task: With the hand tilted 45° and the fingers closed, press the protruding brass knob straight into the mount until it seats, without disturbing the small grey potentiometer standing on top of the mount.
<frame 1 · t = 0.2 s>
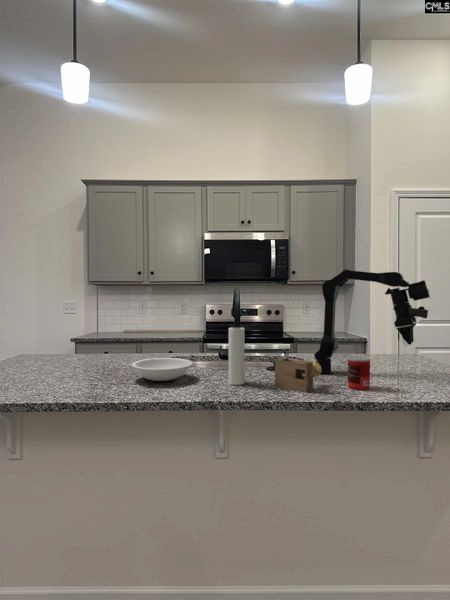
hand: (411, 343, 149), 15 cm above the countertop, tool pointing down, fingers open, 9 cm apart
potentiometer: (284, 360, 142), point 10 cm above the countertop, touching mount
soup bowl: (162, 380, 154), on the countertop
mount: (293, 388, 141), on the countertop
canned food: (358, 388, 142), on the countertop
paper towel roll: (237, 383, 148), on the countertop
knob: (310, 370, 143), point 6 cm above the countertop, slide at 5.0 cm
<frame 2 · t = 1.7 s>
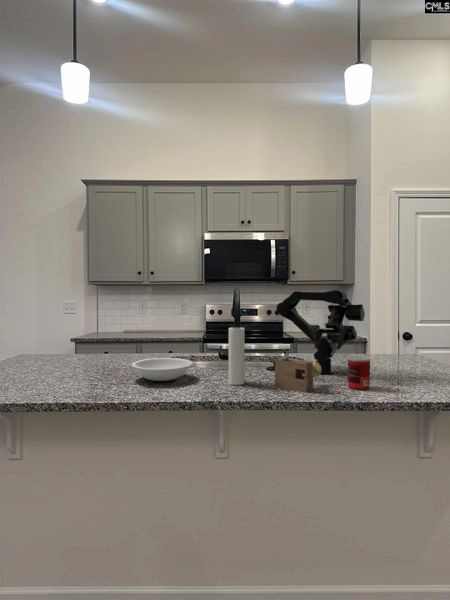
hand: (326, 348, 153), 13 cm above the countertop, tool tilted 45°, fingers open, 9 cm apart
nothing on the countertop moved.
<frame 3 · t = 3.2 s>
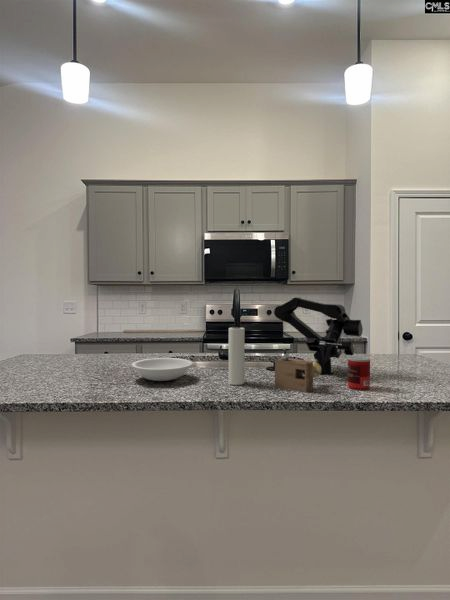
hand: (323, 363, 153), 7 cm above the countertop, tool tilted 45°, fingers closed
nothing on the countertop moved.
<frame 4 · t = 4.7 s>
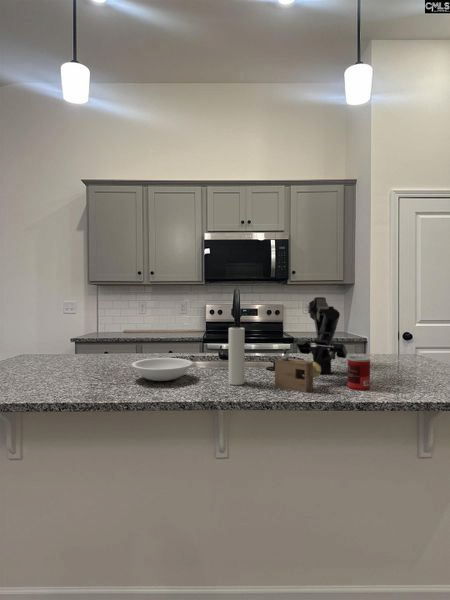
hand: (314, 366, 146), 7 cm above the countertop, tool tilted 45°, fingers closed
knob: (309, 370, 143), point 6 cm above the countertop, slide at 4.6 cm, touching gripper
everything else where it was.
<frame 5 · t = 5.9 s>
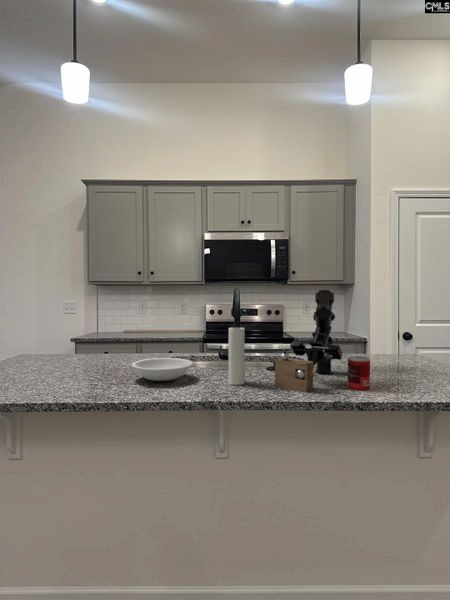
hand: (309, 368, 142), 7 cm above the countertop, tool tilted 45°, fingers closed, pressing on knob
knob: (304, 372, 139), point 6 cm above the countertop, slide at -0.2 cm, touching gripper
everything else where it was.
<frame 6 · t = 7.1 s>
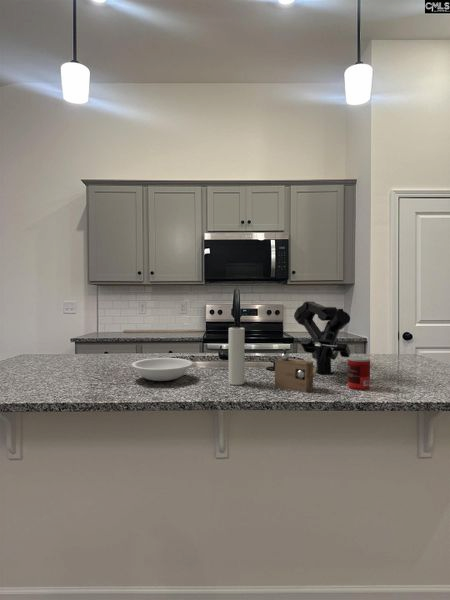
hand: (318, 365, 149), 7 cm above the countertop, tool tilted 45°, fingers closed
knob: (304, 372, 139), point 6 cm above the countertop, slide at 0.0 cm
everything else where it was.
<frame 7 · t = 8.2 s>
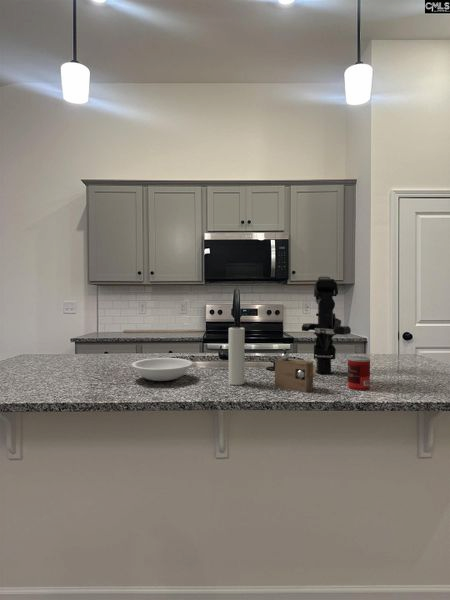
hand: (325, 350, 151), 12 cm above the countertop, tool pointing down, fingers closed
nothing on the countertop moved.
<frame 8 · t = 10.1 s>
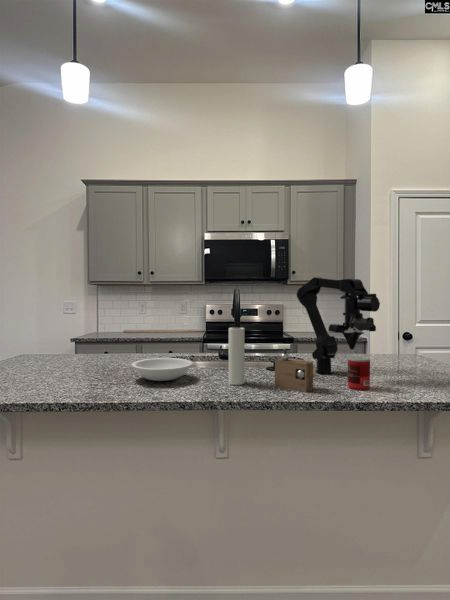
hand: (352, 349, 155), 12 cm above the countertop, tool pointing down, fingers closed
nothing on the countertop moved.
at the end: knob slide at 0.0 cm; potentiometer tilted 0°; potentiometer moved 0.0 cm from its start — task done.
